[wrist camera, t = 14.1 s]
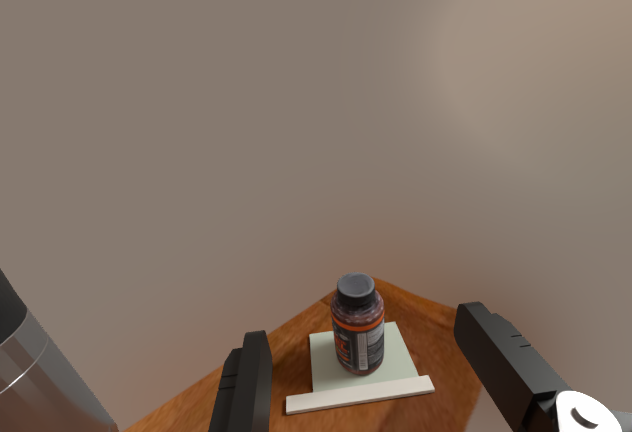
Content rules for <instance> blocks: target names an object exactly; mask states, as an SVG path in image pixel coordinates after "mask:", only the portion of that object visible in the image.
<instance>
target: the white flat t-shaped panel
mask: <svg viewBox="0 0 632 432" xmlns="http://www.w3.org/2000/svg"><path fill="white" fill-rule="evenodd" d="M310 349H311V365H312V381H313V393H307V394H300V395H293V396H287V397H286V414H287V415H289V414H295V413H302V412H308V411H315V410H322V409H328V408H335V407H341V406H348V405H354V404H361V403H367V402H374V401H381V400H387V399H394V398H400V397H407V396H413V395H420V394H426V393H433V392H435V389H434V387H433V385H432V382H431V380H430V378H429V376H428V375H425V376H419V375H418V373H417V371H416V369H415V366H414V364H413V362H412V359H411V357H410V355H409V353H408V350H407V348H406V346H405V343H404V341H403V339H402V337H401V334H400V332H399V330H398V327H397V325H396V323H395V322H390V323H384V359H383V362H382V364H381V365H380V367H379V368H378V369H377V370H375V371H374V372H372V373H369V374H361V375H359V374H353V373H351V372H349V371H347V370H346V369H345V368H344V367H342V365H341V364H340V363H339V361H338V358H337V355H336V350H335V341H334V333H333V331H330V332H323V333H316V334H310Z"/></svg>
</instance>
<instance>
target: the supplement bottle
mask: <svg viewBox="0 0 632 432" xmlns="http://www.w3.org/2000/svg"><path fill="white" fill-rule="evenodd" d="M331 317H332V325H333V333H334V341H335V350H336V355H337V358H338V361H339V363H340V364H341V365H342V367H344V368H345V369H346V370H347V371H349V372H351V373H353V374H359V375H361V374H369V373H372V372H374V371H375V370H377V369H378V368H379V367H380V365H381V364H382V362H383V359H384V303H383V299H382V297H381V296H380V294H379V293H378V292H377V291H376V290H375V284H374V281H373V279H372V278H371V277H370V276H368V275H366V274H363V273H357V272H354V273H348V274H346V275H344V276H342V277H341V278H340V279H339V281H338V283H337V291H336V293H335V294H334V295H333V297H332V300H331Z"/></svg>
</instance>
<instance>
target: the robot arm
mask: <svg viewBox="0 0 632 432" xmlns="http://www.w3.org/2000/svg"><path fill="white" fill-rule="evenodd" d="M454 337H455V340H456V342H457V344H458V346H459V348H460V349H461V351H462V352H463V354H464V356H465V357H466V359H467V360H468V362H469V363H470V365H471V367H472V368H473V370H474V371H475V373H476V374H477V376H478V378H479V379H480V381H481V382H482V384H483V385H484V387H485V388H486V390H487V392H488V393H489V395H490V396H491V398H492V399H493V401H494V402H495V404H496V406H497V407H498V409H499V410H500V412H501V413H502V415H503V417H504V418H505V420H506V421H507V423H508V424H509V426H510V428H511V429H512V431H513V432H632V414H630V413H625V412H619V411H613V410H609V409H606V408H605V407H604V406H602V405H601V404H600V403H599V402H597V401H595V400H594V399H592V398H590V397H588V396H586V395H584V394H581V393H578V392H575V391H573V390H572V389H571V388H570V387H569V386H568V385H567V384H566V383H565V381H564V380H562V378H560V376H559V375H558V374H557V373H556V372H555V371H554V370H553V368H552V367H551V366H550V365H549V364H548V363H547V362H546V361H545V360H544V359H543V357H542V356H541V355H540V354H539V353H538V352H537V351H536V350H535V349H534V348H533V347H531V344H530V343H529V342H528V341H527V340H526V339H525V338H524V337H522V335H521V334H520V332H519V331H517V329H516V328H515V327H514V326H513V325H512V324H511V323H510V322H509V321H507V320H506V319H504V318H503V317H501V316H500V315H498V314H497V313H495V314H491V313H490V312H489V311H488V310H487V308H486V307H485V306H484V305H483V304H482V303H480V302H472V303H463V304H459V306H458V308H457V314H456V319H455V325H454ZM271 385H272V355H271V351H270V347H269V343H268V340H267V336H266V332H265V331H264V330H262V331H255V332H248V333H246V334H245V337H244V342H243V347H242V348H238V349H233V350H232V351H231V353H230V354H229V356H228V358H227V359H226V361H225V363H224V367H223V371H222V376H221V380H220V384H219V388H218V389H219V391H218V392H217V397H216V401H215V405H214V409H213V413H212V418H211V422H210V426H209V430H208V432H269V416H270V401H271ZM0 432H119V430H118V427H117V425H116V423H115V422H114V420H113V419H112V418H111V417H110V415H109V414H108V413H107V411H106V410H105V409H104V407H103V406H102V405H101V403H100V402H99V400H98V399H97V398H96V397H95V395H94V394H93V392H92V391H91V390H90V389H89V387H88V386H87V385H86V383H85V382H84V381H83V380H82V378H81V377H80V375H79V374H78V373H77V372H76V370H75V369H74V368H73V366H72V365H71V364H70V362H69V361H68V360H67V358H66V357H65V356H64V355H63V353H62V352H61V351H60V349H59V348H58V347H57V345H56V344H55V343H54V341H53V340H52V339H51V338H50V336H49V335H48V334H47V332H46V331H45V330H44V329H43V327H42V326H41V325H40V324H39V322H38V321H37V320H36V318H35V317H34V316H33V314H32V313H31V312H30V310H29V309H28V308H27V307H26V305H25V304H24V303H23V301H22V300H21V299H20V298H19V296H18V295H17V293H16V292H15V291H14V290H13V288H12V286H11V284H10V283H9V281H8V280H7V278H6V277H5V275H4V273H3V272H2V271H1V269H0Z"/></svg>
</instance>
